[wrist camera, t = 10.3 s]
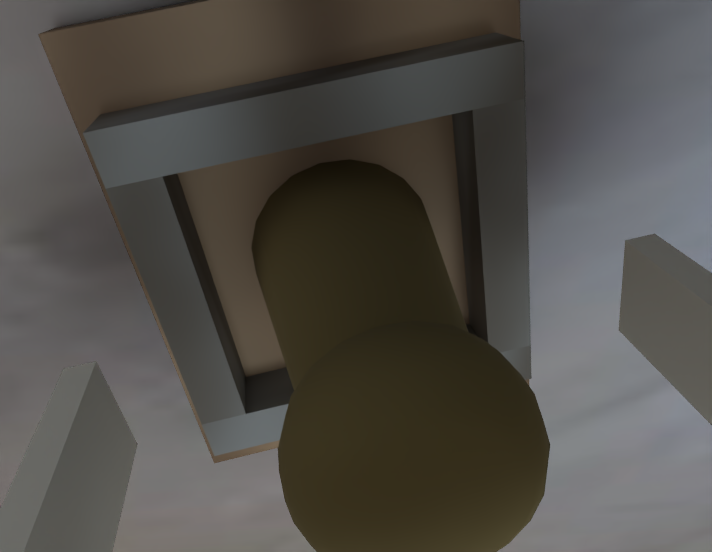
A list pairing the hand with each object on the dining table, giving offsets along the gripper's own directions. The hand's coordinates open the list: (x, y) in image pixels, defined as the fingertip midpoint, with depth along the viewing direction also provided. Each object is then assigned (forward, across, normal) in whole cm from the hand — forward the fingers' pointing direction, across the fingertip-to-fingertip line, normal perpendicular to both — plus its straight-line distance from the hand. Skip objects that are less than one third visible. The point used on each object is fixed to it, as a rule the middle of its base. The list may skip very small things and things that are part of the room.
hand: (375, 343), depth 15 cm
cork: (+6, 0, 0) cm, 6 cm away
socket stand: (+7, 0, 0) cm, 7 cm away
